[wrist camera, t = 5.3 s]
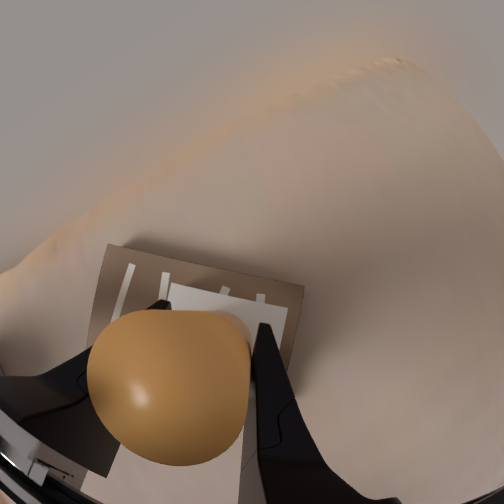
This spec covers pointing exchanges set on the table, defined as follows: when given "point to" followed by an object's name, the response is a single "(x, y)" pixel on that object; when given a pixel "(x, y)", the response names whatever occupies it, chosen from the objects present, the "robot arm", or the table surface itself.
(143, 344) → the rubber stamp
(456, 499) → the table surface
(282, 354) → the walnut board
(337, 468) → the table surface
